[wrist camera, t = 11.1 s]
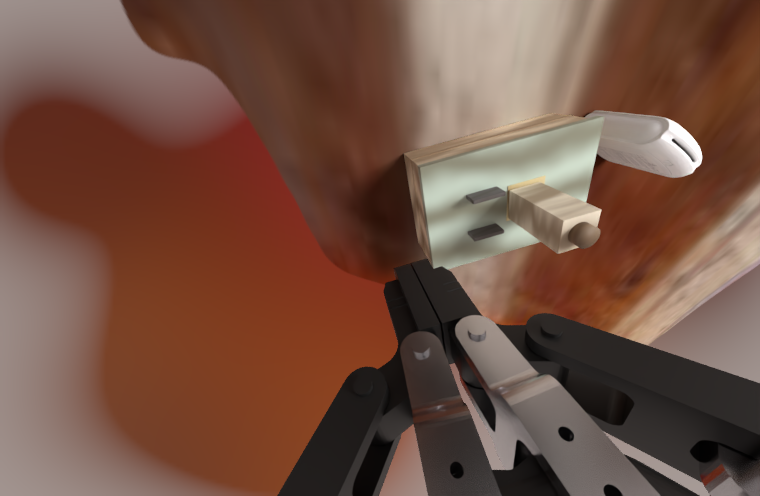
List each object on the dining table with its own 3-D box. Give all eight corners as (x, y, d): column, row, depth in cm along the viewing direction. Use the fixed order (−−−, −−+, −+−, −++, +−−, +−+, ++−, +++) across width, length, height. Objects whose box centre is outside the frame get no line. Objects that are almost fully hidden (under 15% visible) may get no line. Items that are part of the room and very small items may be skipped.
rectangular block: (401, 151, 38) (425, 172, 29) (552, 110, 39) (620, 118, 30) (416, 244, 46) (439, 281, 38) (540, 208, 47) (591, 236, 39)
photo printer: (627, 139, 44) (723, 156, 33) (606, 163, 45) (691, 187, 35) (591, 105, 40) (688, 112, 29) (569, 133, 41) (653, 149, 31)
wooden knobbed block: (509, 190, 34) (573, 226, 26) (539, 181, 34) (612, 214, 26) (508, 218, 36) (566, 259, 28) (536, 210, 36) (602, 248, 28)
